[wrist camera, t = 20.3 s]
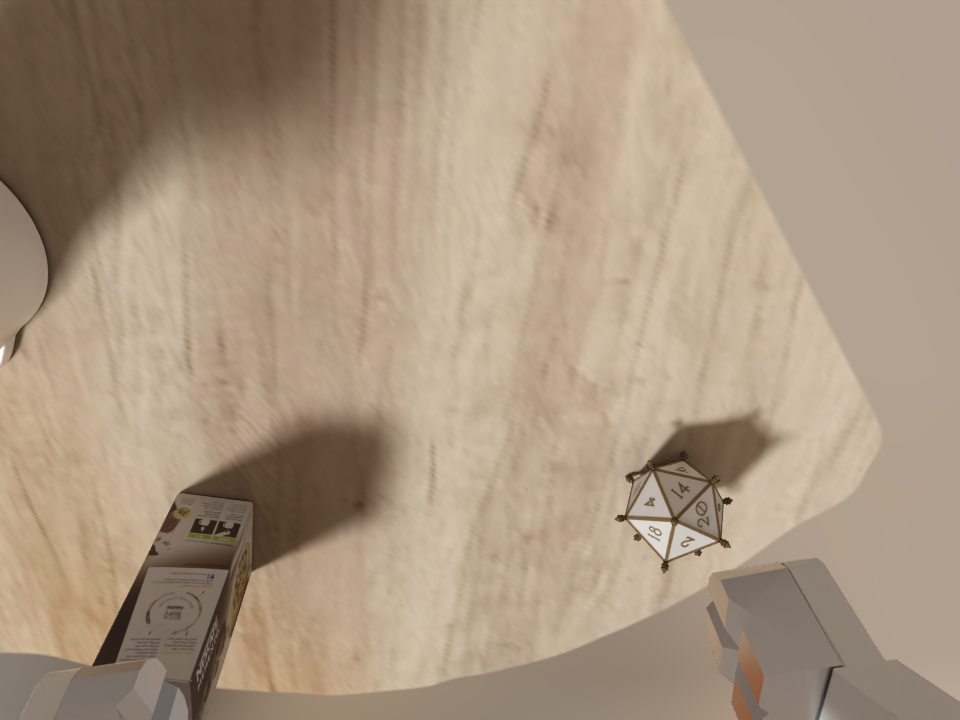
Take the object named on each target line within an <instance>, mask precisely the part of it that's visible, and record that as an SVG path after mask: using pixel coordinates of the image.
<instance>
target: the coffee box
mask: <svg viewBox="0 0 960 720" xmlns="http://www.w3.org/2000/svg"><path fill="white" fill-rule="evenodd" d="M252 531H253V503H252V502H248V501H240V500H231V499H224V498H216V497H208V496H200V495H192V494H184V493H180V494H178V495H177V497H176V499H175V501H174V503H173V505H172V507H171V509H170V511H169V513H168V515H167V517H166V519H165V521H164V523H163V525H162V527H161V529H160V531H159V533H158V535H157V537H156V539H155V541H154V543H153V545H152V547H151V549H150V551H149V553H148V555H147V557H146V559H145V561H144V563H143V565H142V567H141V569H140V571H139V573H138V575H137V577H136V579H135V581H134V583H133V585H132V587H131V589H130V591H129V593H128V595H127V597H126V599H125V601H124V603H123V605H122V607H121V609H120V611H119V613H118V615H117V617H116V619H115V621H114V623H113V625H112V627H111V629H110V631H109V633H108V635H107V637H106V639H105V641H104V643H103V645H102V647H101V649H100V651H99V653H98V655H97V657H96V659H95V661H94V663H93V665H92V667H93V666H100V665H108V664H115V663H122V662H129V661H137V660H144V659H151V658H157V659H158V660H159V661H160V662H161V664H162V665H163V666H164V668H165V669H166V670H167V671H166V674H165V677H164V680H163V681H165V682H167V683H170V684H172V685H174V686H176V687H178V688H179V689H180V691H181V692H182V694H183V695H184V697H185V701H186V705H187V708H188V720H206V717H207V714H208V711H209V708H210V705H211V701H212V698H213V695H214V692H215V689H216V685H217V682H218V679H219V676H220V672H221V669H222V666H223V663H224V659H225V656H226V653H227V650H228V646H229V643H230V640H231V637H232V633H233V630H234V627H235V623H236V620H237V617H238V614H239V610H240V607H241V604H242V600H243V597H244V594H245V591H246V588H247V585H248V581H249V578H250V575H251V570H252Z"/></svg>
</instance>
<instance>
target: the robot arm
mask: <svg viewBox="0 0 960 720" xmlns="http://www.w3.org/2000/svg"><path fill="white" fill-rule="evenodd" d="M47 283H48V265H47V258H46V253H45V249H44V246H43V243H42V240H41V238H40V235H39V233H38V231H37V229H36V227H35V225H34V223H33V221H32V219H31V218H30V216H29V214H28V213H27V211H26V210H25V208H24V207H23V206H22V204H21V203H20V202H19V200H18V199H17V198H16V197H15V196H14V194H13V193H12V192H11V191H10V190H9V189H8V188H7V187H6V186H5V185H4V184H3V183H2V182H1V181H0V367H2V366H3V365H4V364H6V363H7V362H8V361H9V359H10V357H11V355H12V351H13V347H14V342H15V336H16V334H17V333H18V331H19V330H20V329H21V327H22V326H23V325H25V324H26V323H27V322H28V321H29V320H30V319H31V318H32V317H33V315H34V314H35V313H36V312H37V310H38V309H39V307H40V305H41V303H42V301H43V299H44V296H45V293H46V289H47ZM708 590H709V592H710V594H711V597H712V599H713V602H712V603H711V604H710V605H709V606H708V607H706V628H707V634H708V641H709V644H710V648H711V651H712V654H713V657H714V660H715V663H716V665H717V668H718V670H719V673H721V674H722V675H723V676H724V677H726V678H727V679H728V680H729V681H731V682H732V683H733V684H734V686H733V693H732V701H731V703H732V706H733V708H734V711H735V713H736V716H737V718H738V720H960V702H959V701H958V700H956V699H955V698H953V697H952V696H950V695H949V694H947V693H946V692H944V691H943V690H941V689H940V688H938V687H937V686H935V685H934V684H932V683H931V682H929V681H928V680H926V679H925V678H923V677H922V676H920V675H919V674H917V673H916V672H914V671H913V670H911V669H910V668H908V667H907V666H905V665H904V664H902V663H901V662H899V661H898V660H896V659H895V660H885V659H884V658H883V656H882V655H881V653H880V652H879V650H878V649H877V647H876V645H875V644H874V642H873V641H872V639H871V637H870V636H869V634H868V633H867V631H866V629H865V628H864V626H863V625H862V623H861V622H860V620H859V618H858V617H857V615H856V614H855V612H854V610H853V609H852V607H851V606H850V604H849V602H848V601H847V599H846V598H845V596H844V595H843V593H842V591H841V590H840V588H839V586H838V585H837V583H836V582H835V580H834V579H833V577H832V576H831V574H830V572H829V571H828V569H827V567H826V566H825V564H824V563H823V562H821V561H820V560H819V559H818V558H813V557H811V558H805V559H800V560H794V561H788V562H783V563H779V562H775V563H768V564H762V565H756V566H751V567H745V568H739V569H733V570H727V571H721V572H715V573H712V575H711V576H710V577H709V585H708ZM166 671H167V670H166V669H165V668H164V666H163V665H162V664H161V662H160V661H159V660H158V659H157V658H151V659H144V660H137V661H129V662H122V663H115V664H108V665H100V666H93V667H84V668H77V669H70V670H63V671H57V672H50V673H47V674H46V675H45V676H44V677H43V678H42V679H41V680H40V681H39V682H38V683H37V685H36V686H35V688H34V690H33V692H32V694H31V697H30V699H29V701H28V703H27V705H26V707H25V709H24V711H23V713H22V715H21V717H20V719H19V720H188V708H187V705H186V701H185V697H184V695H183V694H182V692H181V691H180V689H179V688H178V687H176V686H174V685H172V684H170V683H167V682H165V681H163V680H164V677H165V674H166Z"/></svg>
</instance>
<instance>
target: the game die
mask: <svg viewBox="0 0 960 720" xmlns="http://www.w3.org/2000/svg"><path fill="white" fill-rule="evenodd" d="M687 456H688V455H687V453H686V451H684V452H683V453H681V456H680V457H681V460H680V461H676V462H673V463H669V464H666V465H662V466H659V467H654V466H655V464H653V463H654V462H651V461H649V460H648V462H647V466H648V468H649V469H651V470H649V471H648V472H646V473H645V474H643V475H641V476H640V477H638V478H637V479H635V480H634V478H633V477H631V476H625V477H626V480H627V481H628V482H629V483H632V488H631V492H630V497H629V501H628V505H627V509H626V514H625V515H624V516H623V515H618V516H617V517H616V518H615V519H614V520H616V521H618V522H621V521H622V522H623V521H624V520H626V521H627V522H628V523H629V524H630V525H631V526H632V527H633V528H634V529H635V531H636V532H637V533H638V534H636V535H634V540H637V541H639V540H641V537H642V538H643V539H644V540H645V541H646V543H647V544H648V545H649V546H650V547H651V548H652V549H653V550H654V551H655V552H656V554H657V555H658V556H659V557H660V558H661V559H662V560H663V564H661V565H662V567H661V569H662V571H663V573H665V572H666V571H667V570H668V567H669V566H668V562H670V561H673V560H675V559H678V558H680V557H683V556H686V555H688V554H691V553H693V552H694V553H695V555H698V556H700V555H701V553H702V552H701V551H700V550H701V549H704V548H706V547H709V546H711V545H714V544H716V543H721V545H722V546H724V548H731V547H730V544H729V541H726V539H725V540H724V539H722V538H721V537H722V521H723V506H724V504H726V505H727V504H729V505H730V503H731V502H732V501H733V500H732V499H730V498H729V497H728V498H724V499H723V500H722V498H721V496H720V494H719V492H718V491H717V489H716V487H715V485H714V483H717V482H719V481H720V476H716V475H714V477H712V479H711V480H710V479H709V478H707V477H706V476H705V475H703V474H702V473H701V472H699V471H698V470H697V469H695V468H694V467H693V466H691V465H690V464H689V463H687V462H686V459H687Z"/></svg>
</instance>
